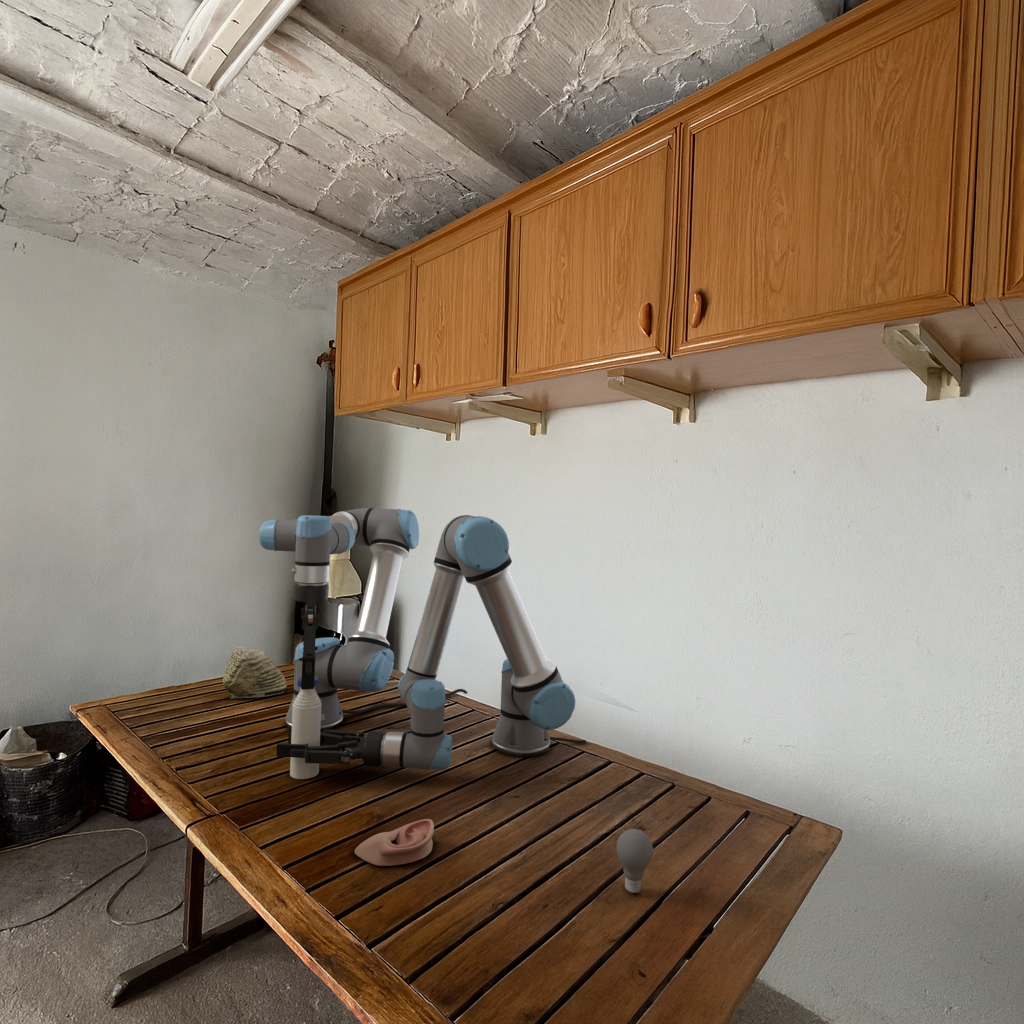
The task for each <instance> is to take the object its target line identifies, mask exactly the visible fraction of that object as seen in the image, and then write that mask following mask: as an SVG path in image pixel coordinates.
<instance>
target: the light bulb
mask: <svg viewBox="0 0 1024 1024" xmlns="http://www.w3.org/2000/svg"><path fill="white" fill-rule="evenodd" d="M615 849H616V854H617V857H618V859H619V861H620V863H621V865H622V867H623V873H624V874H623V875H624V876H625V878H624V888H625V890H627V891H628V892H630V893H634V894H635V893H639V892H640V891H641V889H642V887H641V886H642V879H643V877H644V875H645V871H646V868H647V867H648V866H649V864H650V863H651V861H652V859H653V855H654V847H653V843H652V841H651V838H649V836H648V835H647V834H646V833H645V832H643V831H642V830H641V829H636V828H629V829H627V830H625V831H623V832H622V833H621V834H620V835H619V837H618V839H617V841H616V847H615Z"/></svg>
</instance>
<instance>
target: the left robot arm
mask: <svg viewBox="0 0 1024 1024" xmlns="http://www.w3.org/2000/svg"><path fill="white" fill-rule="evenodd" d="M419 527H420V526H419V522H418V519H417V516H416V514H415V513H414V512H413V511H412V510H408V509H401V508H398V509H397V508H395V509H394V508H376V507H362V508H354V509H348V510H343V511H342V510H341V511H337V512H335V513H333V514H332V515H311V514H309V515H305V514H304V515H303V514H302V515H299V516H298V518H297V519H296V518H295V519H288V520H287V519H286V520H285V519H283V520H282V519H268V520H265V521H264V522H263V523H261V526H260V528H259V531H258V541H259V545H260V546H261V547H262V548H263V549H264V550H268V551H274V552H277V551H278V552H293V553H295V559H294V567H295V568H292V569H291V573H292V574H294V582H295V584H294V585H293V600H294V601H295V602H297V603H304V604H305V605H304V607H301V613H300V617H301V629H302V630H303V641H302V642H299V643H298V644H297V645H296V647H295V652H294V653H295V654H294V659H293V661H294V672H293V695H292V696H293V697H292V699H291V702H290V704H289V708H288V711H287V713H286V715H285V726H286V728H287V729H289V730H292V707H293V703H294V700H295V698H296V697H297V695H298V694H299V692H300V687H298V678H299V677H301V676H302V683H301V690H305V689H314V677H315V676H317V677H318V685H317V686H316V687H315V691H316V694H318V696H319V699H320V700H321V727H320V732H323V731H324V730H325V729H327V730H334V729H335V728H337V727H339V726H340V725H342V723H343V722H344V714H351V715H352V714H353V715H358V714H364V713H367V712H369V711H371V710H372V711H373V710H374V709H379V708H386V707H387V708H388V707H389V708H390V707H407V705H406V704H405V702H388V703H386V702H385V703H378V704H374V705H370V706H368V707H365V708H363V709H358V710H353V709H342V706H341V702H340V699H339V695H338V689H339V690H340V689H341V690H351V691H359V692H363V693H366V692H373V693H377V692H379V691H381V690H382V689H384V687H385V686H386V685H387V684H388V682H389V681H390V678H391V677H392V676H391V675H392V673H393V671H394V666H395V665H394V664H395V662H394V661H395V655H394V652H393V650H391V648H390V646H391V644H390V642H389V641H388V640H387V635H388V629H389V625H390V621H391V616H392V611H393V605H394V601H395V598H396V597H395V596H396V592H397V586H398V583H399V578H400V572H401V568H402V563H403V561H404V560H405V559H406V558H408V557H409V555H410V551H411V550H415V549H417V547H418V545H419V541H420V528H419ZM354 545H357V546H358V545H359V546H366V547H369V550H370V551H371V553H372V560H371V563H370V568H369V572H368V576H367V581H366V584H365V590H364V593H363V598H362V602H361V607H360V611H359V615H358V619H357V624H356V628H355V632H354V633H353V634H351V635H350V636H348V638H347V642H346V644H340V643H341V641H340V639H339V638H338V637H334V636H333V637H332V636H331V637H318V638H316V635H317V630H318V629H319V618H320V613H321V612H320V611H321V610H320V609H321V608H320V607H317V603H324V602H326V601H328V600H329V591H330V590H329V589H330V588H329V584H328V583H329V582H330V569H331V568H330V559H331V555H341V554H343V553H346V552H348V551H350V550H351V549H352V548H353V546H354ZM457 693H463V694H465V695H466V694H468V691H467V690H466V689H465V688H458V689H455V690H452V691H451V692H447V693H445V697H446V698H447V697H451V696H453V695H456V694H457Z"/></svg>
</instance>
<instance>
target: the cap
mask: <svg viewBox="0 0 1024 1024" xmlns="http://www.w3.org/2000/svg"><path fill="white" fill-rule="evenodd" d="M301 683H302V676H301V677H299V678H298V687H301ZM317 685H318V677H317V676H315V677H314V687H316V686H317Z"/></svg>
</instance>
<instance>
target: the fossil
mask: <svg viewBox="0 0 1024 1024" xmlns="http://www.w3.org/2000/svg"><path fill="white" fill-rule="evenodd" d="M222 676H223V677H222V685H223V687H224V688H225V690H226V691H228V693H229V698H230V699H250V698H264V697H271V696H275V695H281V694H284V693H285V691H286V689H287V687H288V686H287V680H286V678H285V676H284V674H283V673H282V672H281V669H279V668H278V667H277V665H276V663H275V662H274V660H273V659H272V658H271V657H270V656H269V655H268V654H267V653H266V652H265V650H264V649H263V648H260V647H258V648H251V647H247V646H246V647H245V646H238V647H237V648H236V649H235V650H233V651H232V653H231V656H230V657H229V659H228V660H227V663H226V666H225V668H224V671H223V675H222Z"/></svg>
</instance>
